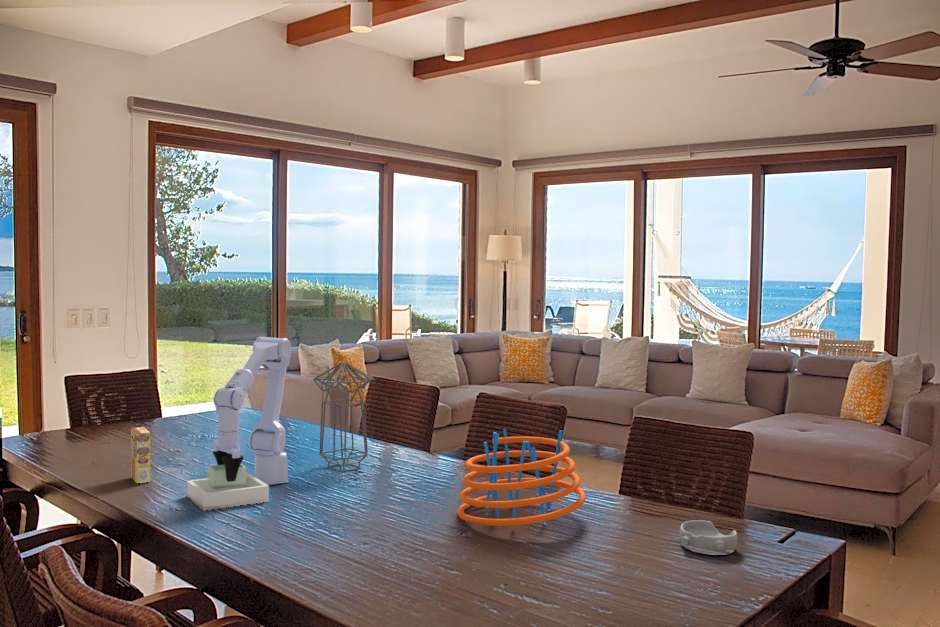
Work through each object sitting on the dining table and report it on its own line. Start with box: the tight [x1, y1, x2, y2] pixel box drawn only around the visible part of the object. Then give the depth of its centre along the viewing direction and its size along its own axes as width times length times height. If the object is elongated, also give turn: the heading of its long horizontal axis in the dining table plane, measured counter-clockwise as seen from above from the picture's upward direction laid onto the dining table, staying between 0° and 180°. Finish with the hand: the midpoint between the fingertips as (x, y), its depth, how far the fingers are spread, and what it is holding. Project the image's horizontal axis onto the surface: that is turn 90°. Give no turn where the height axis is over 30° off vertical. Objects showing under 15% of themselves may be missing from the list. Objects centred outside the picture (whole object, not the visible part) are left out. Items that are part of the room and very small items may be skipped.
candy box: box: [130, 426, 151, 485], centre depth 245 cm, size 9×4×15 cm, turn 33°
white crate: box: [186, 472, 270, 512], centre depth 229 cm, size 18×16×4 cm
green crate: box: [207, 463, 247, 489], centre depth 228 cm, size 9×6×5 cm, turn 125°
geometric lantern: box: [312, 361, 375, 472], centre depth 268 cm, size 16×16×35 cm
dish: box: [679, 519, 738, 551], centre depth 200 cm, size 14×14×5 cm
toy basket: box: [457, 428, 587, 527], centre depth 220 cm, size 34×35×24 cm
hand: (227, 478), depth 228 cm, fingers closed on green crate, 6 cm apart
